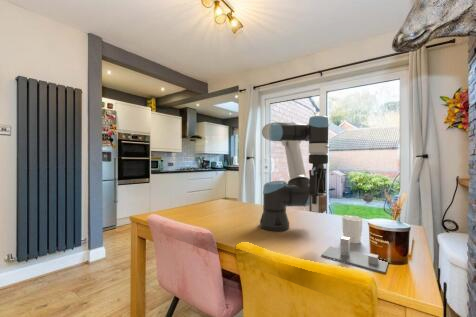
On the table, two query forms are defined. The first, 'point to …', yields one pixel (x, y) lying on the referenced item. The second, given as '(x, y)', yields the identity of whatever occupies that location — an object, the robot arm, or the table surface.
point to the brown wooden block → (320, 203)
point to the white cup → (352, 228)
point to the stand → (358, 259)
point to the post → (345, 246)
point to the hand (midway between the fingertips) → (317, 210)
